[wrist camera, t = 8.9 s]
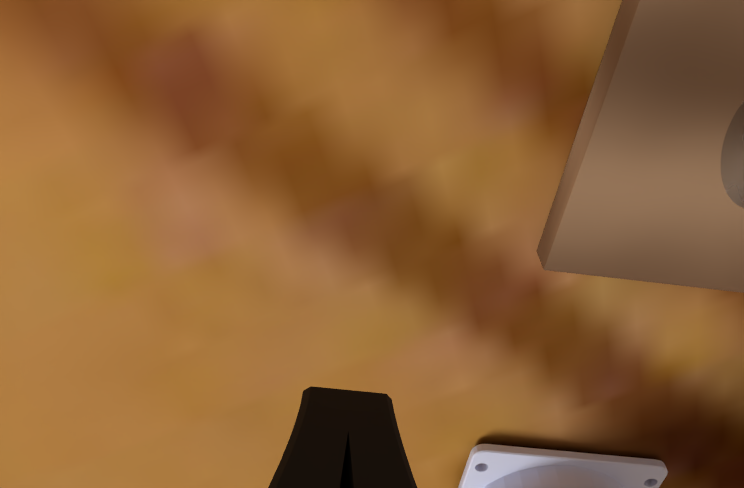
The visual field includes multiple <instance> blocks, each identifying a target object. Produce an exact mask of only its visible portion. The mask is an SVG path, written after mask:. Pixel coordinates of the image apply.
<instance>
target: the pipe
mask: <svg viewBox="0 0 744 488" xmlns="http://www.w3.org/2000/svg"><path fill="white" fill-rule="evenodd" d="M721 177H722V182H723V185H724V188H725V190H726V193H727V194H728V196H729V197H730V199H731V200H732V201H733V202H734V203H735V204H737V205H738V206H740V207H742V208H744V102H743V103H742V104H741V106H740V107H739V108H738V110H737V112H736V113H735V115H734V117H733V118H732V120H731V122H730V125H729V127H728V129H727V132H726V135H725V138H724V142H723V146H722V152H721Z"/></svg>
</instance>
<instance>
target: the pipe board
mask: <svg viewBox="0 0 744 488" xmlns="http://www.w3.org/2000/svg"><path fill="white" fill-rule="evenodd" d="M743 102H744V0H622V3H621V6H620V9H619V12H618V15H617V18H616V21H615V23H614V26H613V29H612V32H611V35H610V38H609V41H608V44H607V47H606V50H605V53H604V56H603V59H602V61H601V64H600V67H599V70H598V73H597V76H596V79H595V82H594V85H593V88H592V91H591V94H590V97H589V99H588V102H587V105H586V108H585V111H584V114H583V117H582V120H581V123H580V126H579V129H578V132H577V135H576V138H575V140H574V143H573V146H572V149H571V152H570V155H569V158H568V161H567V164H566V167H565V170H564V173H563V176H562V178H561V181H560V184H559V187H558V190H557V193H556V196H555V199H554V202H553V205H552V208H551V211H550V214H549V216H548V219H547V222H546V225H545V228H544V231H543V234H542V237H541V240H540V243H539V246H538V249H537V253H538V256H539V259H540V261H541V264H542V266H543V269H544V270H550V271H558V272H567V273H576V274H585V275H594V276H602V277H611V278H620V279H629V280H637V281H646V282H655V283H664V284H673V285H681V286H690V287H699V288H708V289H716V290H725V291H734V292H743V293H744V208H742V207H740V206H738V205H737V204H735V203H734V202H733V201H732V200H731V199H730V197H729V196H728V194H727V193H726V190H725V188H724V185H723V182H722V177H721V152H722V146H723V142H724V138H725V135H726V132H727V129H728V127H729V125H730V122H731V120H732V118H733V117H734V115H735V113H736V112H737V110H738V108H739V107H740V106H741V104H742V103H743Z"/></svg>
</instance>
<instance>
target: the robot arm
mask: <svg viewBox="0 0 744 488" xmlns="http://www.w3.org/2000/svg"><path fill="white" fill-rule="evenodd" d="M667 473H668V471H667V468H666V466H665V464H664V462H662V461H660V460H656V459H646V458H635V457H624V456H613V455H602V454H592V453H581V452H570V451H559V450H548V449H537V448H527V447H516V446H505V445H494V444H479V445H477V446H475V447H474V448H473V449H472V450H471V452H470V455H469V458H468V461H467V464H466V467H465V470H464V472H463V475H462V478H461V481H460V484H459V487H458V488H659V487H660V485H661V484H662V482H663V480H664V479H665V477H666V476H667ZM268 488H417V486H416V483H415V480H414V478H413V475H412V472H411V469H410V466H409V463H408V460H407V456H406V453H405V450H404V447H403V444H402V440H401V437H400V433H399V430H398V426H397V422H396V418H395V414H394V409H393V404H392V400H391V398H390V397H389V396H388V395H387V394H382V393H372V392H362V391H351V390H341V389H331V388H321V387H309V388H308V389H306V390H304V391H303V395H302V400H301V405H300V409H299V412H298V416H297V419H296V422H295V425H294V428H293V431H292V434H291V436H290V439H289V442H288V444H287V446H286V449H285V451H284V454H283V456H282V459H281V461H280V464H279V466H278V468H277V470H276V472H275V474H274V477H273V479H272V481H271V483H270V485H269V487H268Z"/></svg>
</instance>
